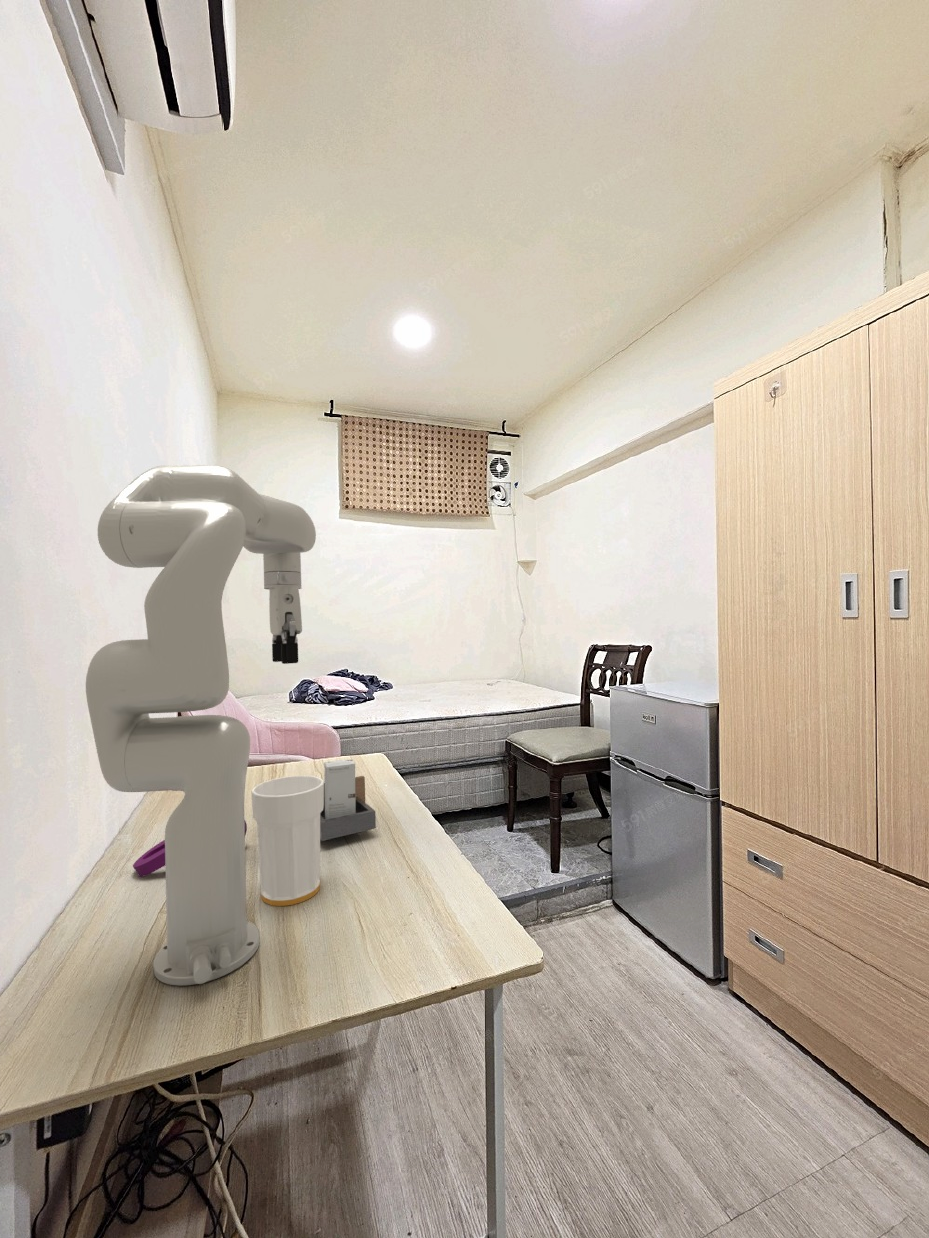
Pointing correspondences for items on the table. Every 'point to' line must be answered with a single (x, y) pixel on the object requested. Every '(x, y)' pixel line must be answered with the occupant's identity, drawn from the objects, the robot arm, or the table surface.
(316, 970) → the table surface
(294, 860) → the cup
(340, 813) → the skincare box
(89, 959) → the table surface
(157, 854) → the mounting bracket
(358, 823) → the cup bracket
